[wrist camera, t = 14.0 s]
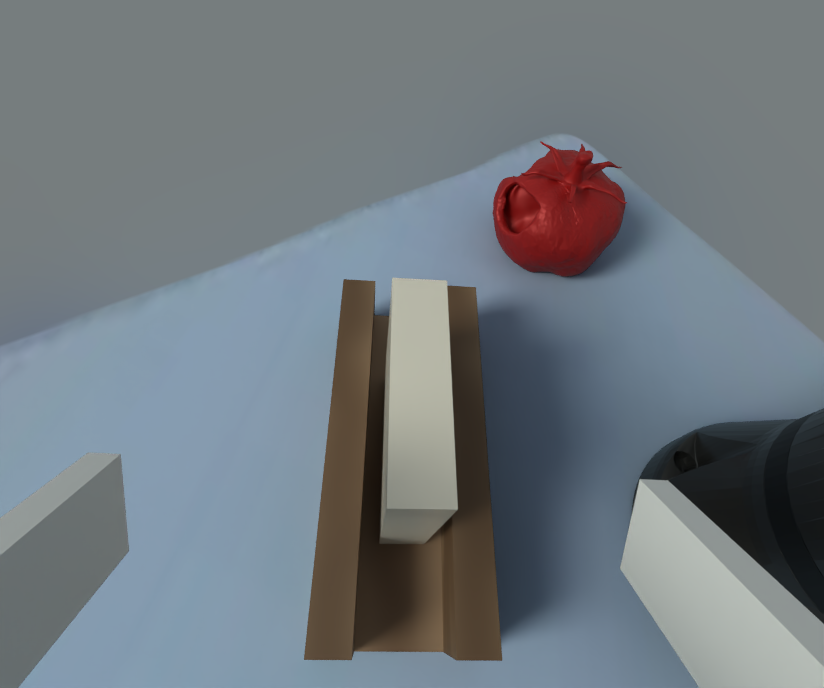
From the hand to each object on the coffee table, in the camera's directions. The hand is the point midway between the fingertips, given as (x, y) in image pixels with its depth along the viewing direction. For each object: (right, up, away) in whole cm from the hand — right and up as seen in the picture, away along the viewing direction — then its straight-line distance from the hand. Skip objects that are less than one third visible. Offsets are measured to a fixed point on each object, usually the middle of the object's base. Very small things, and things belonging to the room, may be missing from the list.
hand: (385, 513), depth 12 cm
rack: (0, -3, +17) cm, 17 cm away
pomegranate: (+12, +13, +28) cm, 33 cm away
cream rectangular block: (0, -2, +16) cm, 16 cm away
